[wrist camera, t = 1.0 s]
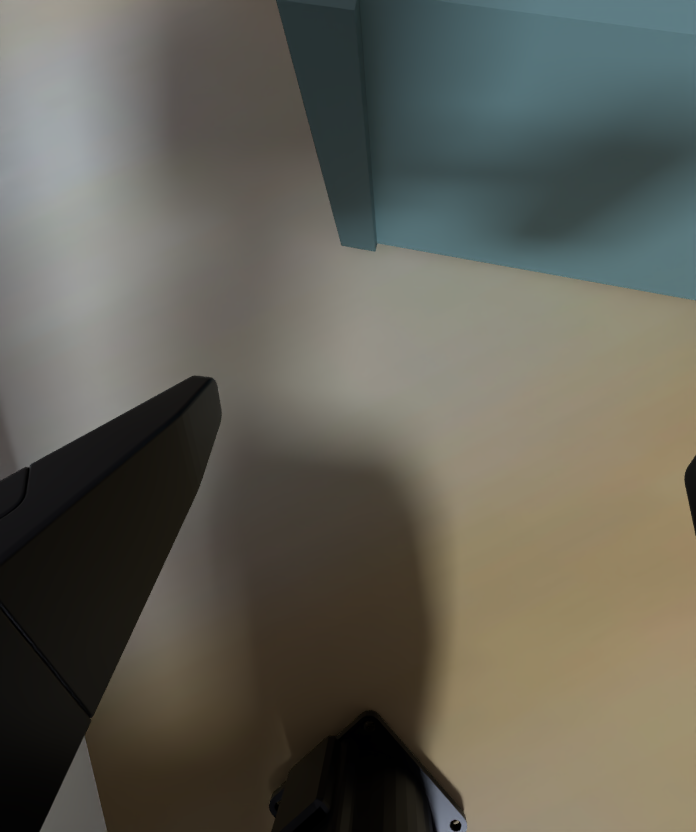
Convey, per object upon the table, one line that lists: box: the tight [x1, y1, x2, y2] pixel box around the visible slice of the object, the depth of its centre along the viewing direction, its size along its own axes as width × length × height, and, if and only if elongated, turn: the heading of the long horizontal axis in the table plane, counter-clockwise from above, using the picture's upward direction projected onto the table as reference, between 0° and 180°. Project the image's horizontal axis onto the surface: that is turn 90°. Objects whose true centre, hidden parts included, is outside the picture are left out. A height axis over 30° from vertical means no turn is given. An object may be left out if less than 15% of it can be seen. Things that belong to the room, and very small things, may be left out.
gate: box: [276, 0, 696, 300], centre depth 16 cm, size 16×2×13 cm, turn 78°
